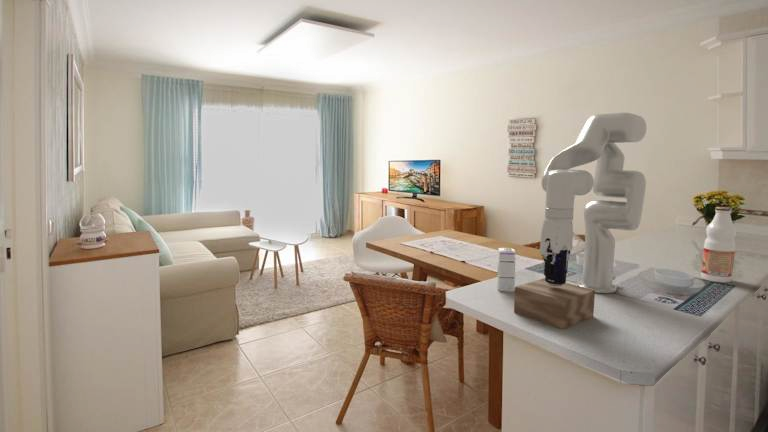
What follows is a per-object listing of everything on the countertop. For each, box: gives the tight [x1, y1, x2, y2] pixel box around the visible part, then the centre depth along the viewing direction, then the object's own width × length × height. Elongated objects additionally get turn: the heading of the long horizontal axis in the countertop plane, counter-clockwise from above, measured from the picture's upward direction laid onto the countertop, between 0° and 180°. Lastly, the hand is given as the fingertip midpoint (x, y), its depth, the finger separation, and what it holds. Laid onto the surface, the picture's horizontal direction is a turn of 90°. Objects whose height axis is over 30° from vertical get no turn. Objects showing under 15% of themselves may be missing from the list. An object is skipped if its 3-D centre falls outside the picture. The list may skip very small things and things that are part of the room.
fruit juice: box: [700, 206, 738, 284], centre depth 160 cm, size 9×9×28 cm
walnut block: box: [513, 277, 596, 330], centre depth 125 cm, size 16×16×8 cm
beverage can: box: [544, 246, 568, 286], centre depth 124 cm, size 6×6×12 cm
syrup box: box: [496, 247, 516, 293], centre depth 149 cm, size 6×6×14 cm
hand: (555, 274), depth 124 cm, fingers closed on beverage can, 5 cm apart
